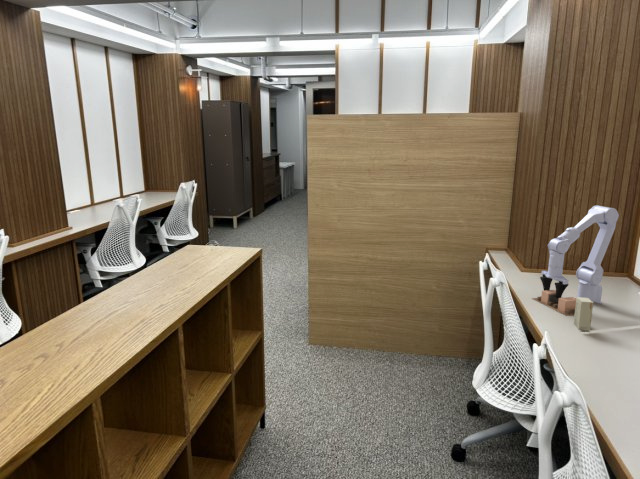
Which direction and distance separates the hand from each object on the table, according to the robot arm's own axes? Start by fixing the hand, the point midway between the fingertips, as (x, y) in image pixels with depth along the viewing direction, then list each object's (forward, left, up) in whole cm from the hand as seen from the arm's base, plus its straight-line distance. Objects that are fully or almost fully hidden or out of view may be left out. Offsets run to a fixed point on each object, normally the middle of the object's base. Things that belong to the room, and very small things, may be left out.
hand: (552, 294), depth 211 cm
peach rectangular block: (0, 0, -4) cm, 4 cm away
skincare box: (+8, +26, -5) cm, 28 cm away
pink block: (0, +10, -4) cm, 11 cm away
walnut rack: (-1, +4, -5) cm, 6 cm away
